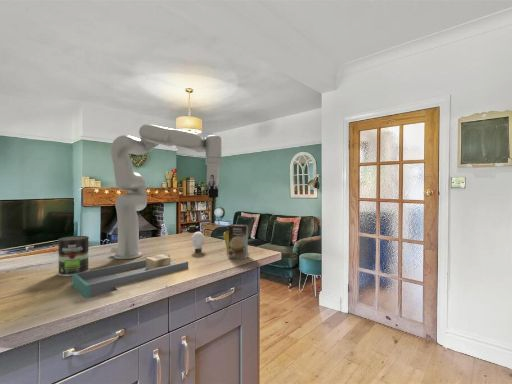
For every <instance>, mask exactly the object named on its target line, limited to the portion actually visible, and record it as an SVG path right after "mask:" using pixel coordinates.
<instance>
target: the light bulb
mask: <svg viewBox="0 0 512 384" xmlns="http://www.w3.org/2000/svg"><path fill="white" fill-rule="evenodd" d="M204 243H205V236H204V234H203V232H201V231H196V232H194V233H193V234H192V235H191V245H192V246H193V247H194V253H195V254H200V253H203V252H202V251H203V250H202V247H203V245H204Z"/></svg>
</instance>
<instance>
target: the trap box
mask: <svg viewBox="0 0 512 384" xmlns="http://www.w3.org/2000/svg"><path fill="white" fill-rule="evenodd" d="M165 256H168V257H171V256H170V255H169V254H167V255H165ZM188 268H189V261H188V260H186V261H182V262H177V263H176V262H174V261H172V260H171V265H168V266H164V267H160V268H155V269H151V270H148V269H146V259H141V260H136V261H131V262H126V263H122V264H115V265H110V266H105V267H103V268H96V269H91V270H89V271H85V272H80V273H75V274H72V276H71V277H72V284H71V285H72V287H74V289H76V290H77V291H78V292H79V293H80V295H82V296H83V297H84V298H85V299H88V298H92V297H96V296H99V295H103V294H107V293H112V292H115V291H118V289H117V288H116V287H118V286H121V285H122V286H123V285H126V284H130V283H133V282H138V281H142V280H145V279H149V278H154V277H156V276H157V277H158V276H161V275H166V274H169V273H174V272H177V271H180V270H184V269H188ZM135 269H136V270H135ZM129 270H132V271H129ZM124 271H127V272H124ZM120 272H122V273H120ZM117 273H119V274H117Z"/></svg>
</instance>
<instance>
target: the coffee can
mask: <svg viewBox="0 0 512 384" xmlns="http://www.w3.org/2000/svg"><path fill="white" fill-rule="evenodd" d="M89 238H90V237H89V236H87V235H71V236H64V237H60V238H58V240H57V242H58V276H60V277H72V274H75V273H80V272H85V271H90V270H89V240H90V239H89Z"/></svg>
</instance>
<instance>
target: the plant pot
mask: <svg viewBox="0 0 512 384" xmlns="http://www.w3.org/2000/svg"><path fill="white" fill-rule="evenodd" d="M223 240H224V241H225V247H226V251H227V252H229V231H224V232H223Z"/></svg>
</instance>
